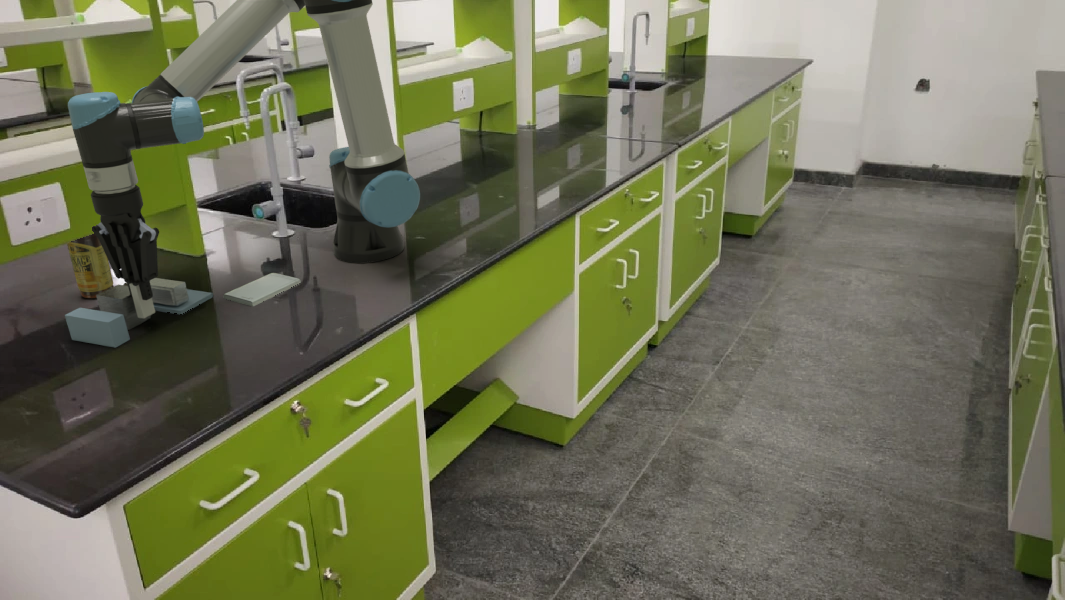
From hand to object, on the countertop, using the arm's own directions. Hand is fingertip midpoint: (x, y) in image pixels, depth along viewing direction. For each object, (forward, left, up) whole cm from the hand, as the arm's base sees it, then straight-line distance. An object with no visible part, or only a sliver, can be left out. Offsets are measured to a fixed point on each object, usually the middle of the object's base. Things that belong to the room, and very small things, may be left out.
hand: (146, 314), depth 146 cm
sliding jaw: (+6, -7, -1) cm, 9 cm away
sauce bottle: (+21, -8, -2) cm, 22 cm away
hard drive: (-10, -19, -3) cm, 22 cm away
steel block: (+5, 0, -2) cm, 5 cm away
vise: (+4, -2, -2) cm, 5 cm away
